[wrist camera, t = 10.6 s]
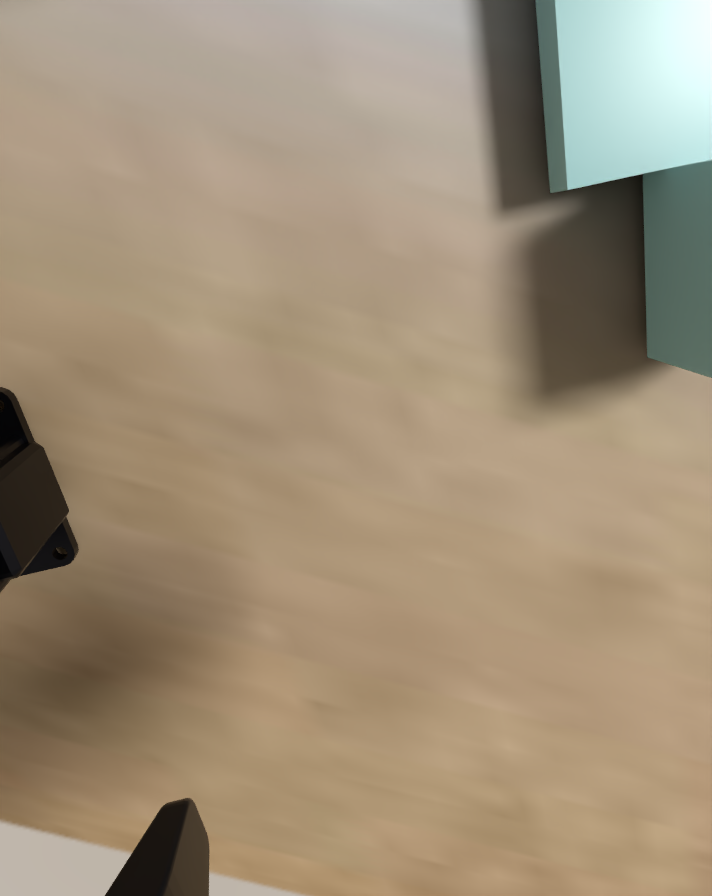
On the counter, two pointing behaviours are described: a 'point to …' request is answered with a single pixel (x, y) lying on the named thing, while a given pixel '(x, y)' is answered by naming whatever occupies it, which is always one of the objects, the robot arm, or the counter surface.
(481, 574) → the counter surface
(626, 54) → the lid
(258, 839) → the counter surface
